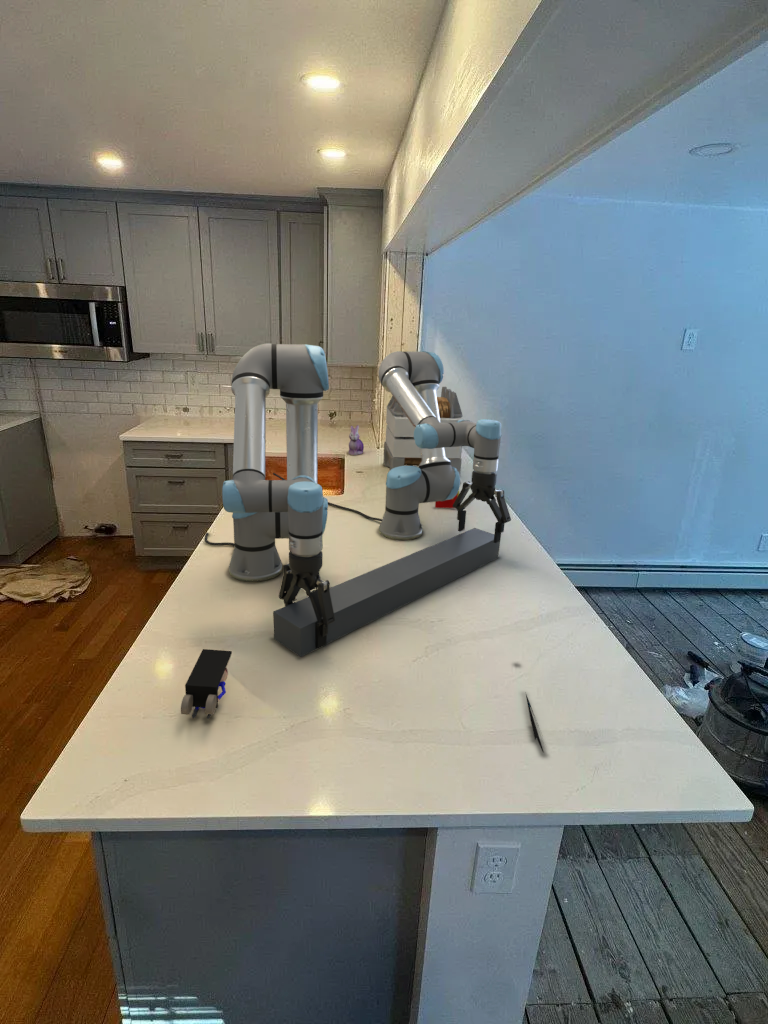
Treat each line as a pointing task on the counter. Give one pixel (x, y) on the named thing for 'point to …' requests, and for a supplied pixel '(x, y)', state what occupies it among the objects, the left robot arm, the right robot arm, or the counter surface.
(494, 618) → the counter surface
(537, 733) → the feather
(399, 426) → the grey slatted crate
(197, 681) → the black toy cart
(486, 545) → the dark gray long bar
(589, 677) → the counter surface
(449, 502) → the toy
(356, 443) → the figurine
